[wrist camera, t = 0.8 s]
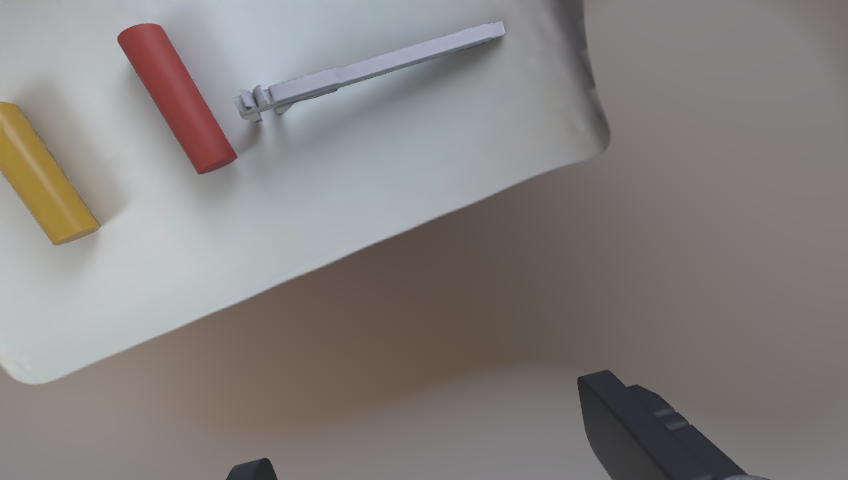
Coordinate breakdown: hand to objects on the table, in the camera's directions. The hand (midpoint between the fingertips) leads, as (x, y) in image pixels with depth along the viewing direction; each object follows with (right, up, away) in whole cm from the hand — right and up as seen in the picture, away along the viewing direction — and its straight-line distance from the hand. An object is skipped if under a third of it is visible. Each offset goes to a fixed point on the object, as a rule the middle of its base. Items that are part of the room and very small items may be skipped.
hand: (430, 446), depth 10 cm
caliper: (-4, +18, +21) cm, 28 cm away
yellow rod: (-29, +10, +21) cm, 37 cm away
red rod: (-18, +16, +20) cm, 31 cm away
